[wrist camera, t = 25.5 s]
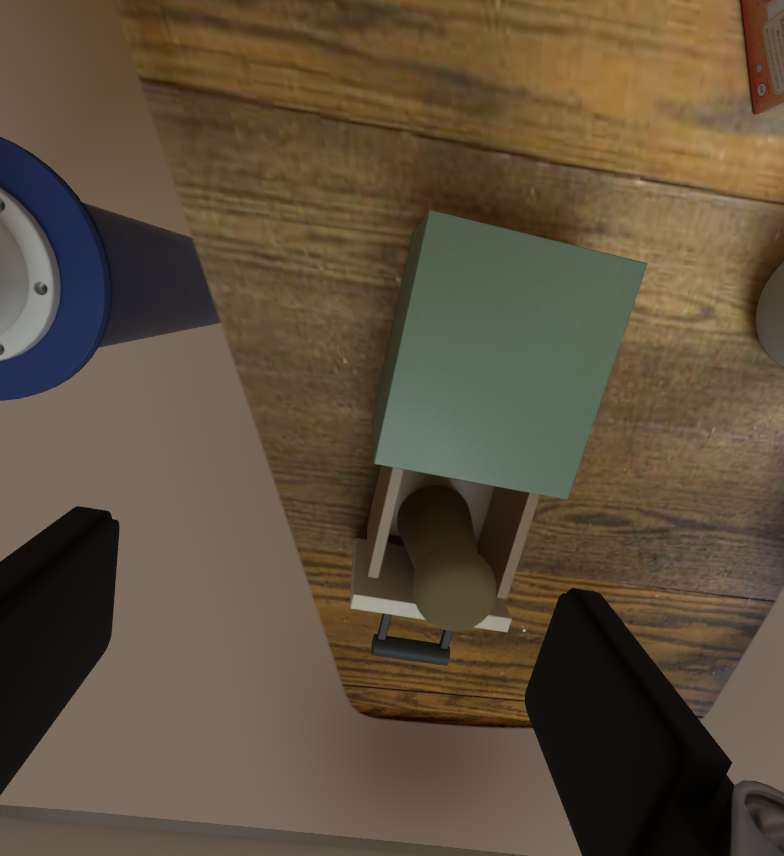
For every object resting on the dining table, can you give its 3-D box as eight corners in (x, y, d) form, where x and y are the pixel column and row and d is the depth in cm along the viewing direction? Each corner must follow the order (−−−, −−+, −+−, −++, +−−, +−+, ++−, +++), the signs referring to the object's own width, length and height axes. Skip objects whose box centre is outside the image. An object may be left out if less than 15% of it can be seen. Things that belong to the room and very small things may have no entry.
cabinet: (520, 452, 39) (567, 500, 30) (371, 422, 38) (373, 464, 29) (575, 271, 36) (648, 263, 27) (412, 231, 34) (429, 209, 25)
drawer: (465, 626, 43) (486, 697, 35) (340, 607, 42) (334, 676, 34) (526, 424, 38) (565, 456, 30) (386, 396, 37) (391, 422, 29)
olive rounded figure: (418, 472, 37) (439, 544, 27) (484, 503, 38) (529, 583, 28) (383, 535, 39) (390, 626, 28) (448, 563, 40) (478, 661, 29)
